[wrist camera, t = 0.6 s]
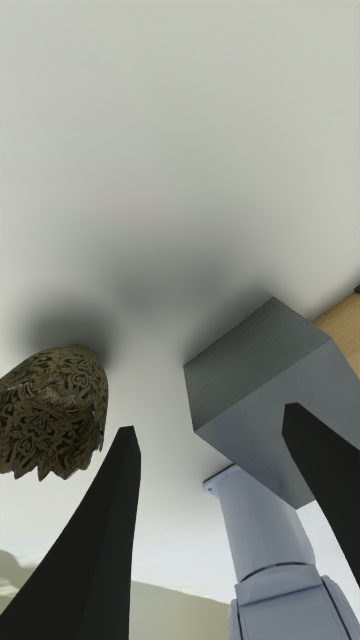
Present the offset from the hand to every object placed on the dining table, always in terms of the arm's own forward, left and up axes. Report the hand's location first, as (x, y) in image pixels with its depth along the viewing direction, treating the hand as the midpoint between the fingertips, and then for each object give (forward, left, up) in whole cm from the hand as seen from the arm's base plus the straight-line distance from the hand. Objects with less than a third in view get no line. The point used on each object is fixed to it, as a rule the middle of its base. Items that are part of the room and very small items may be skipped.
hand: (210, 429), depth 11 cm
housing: (-9, -2, -10) cm, 14 cm away
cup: (+5, +9, -10) cm, 14 cm away
